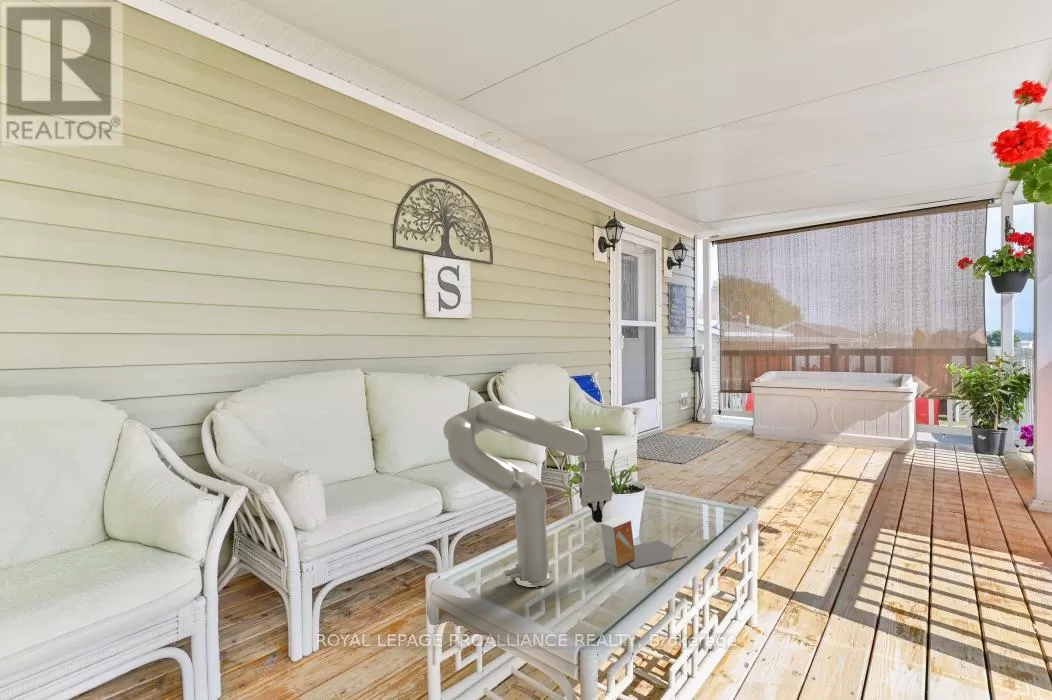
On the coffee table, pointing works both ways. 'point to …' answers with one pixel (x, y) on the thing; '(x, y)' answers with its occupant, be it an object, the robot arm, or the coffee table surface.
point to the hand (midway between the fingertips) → (597, 521)
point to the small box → (618, 541)
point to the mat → (651, 554)
